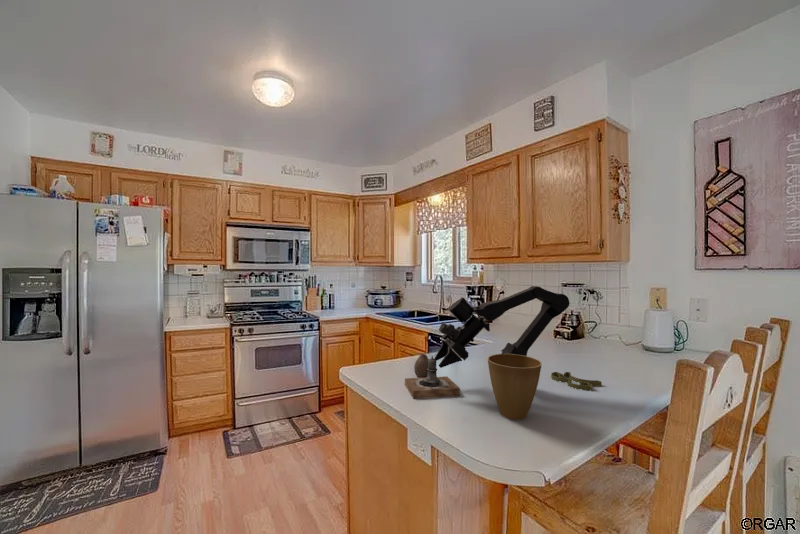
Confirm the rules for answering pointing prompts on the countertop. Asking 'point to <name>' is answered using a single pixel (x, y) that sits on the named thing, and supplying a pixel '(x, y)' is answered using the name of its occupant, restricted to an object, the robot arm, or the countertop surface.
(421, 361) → the vase
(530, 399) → the plant pot
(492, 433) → the countertop surface
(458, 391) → the bore block
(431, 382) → the grey chess piece
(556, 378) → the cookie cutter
